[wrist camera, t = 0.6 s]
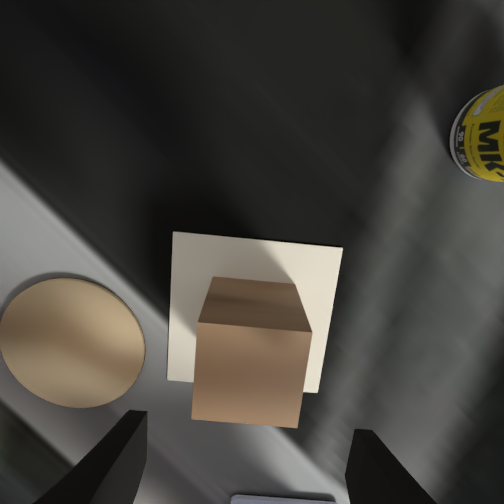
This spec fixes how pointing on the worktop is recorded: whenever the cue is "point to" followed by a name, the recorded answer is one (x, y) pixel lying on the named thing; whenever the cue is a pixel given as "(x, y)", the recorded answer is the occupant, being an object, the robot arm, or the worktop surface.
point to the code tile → (250, 268)
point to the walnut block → (251, 353)
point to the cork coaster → (72, 342)
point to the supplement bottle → (480, 136)
